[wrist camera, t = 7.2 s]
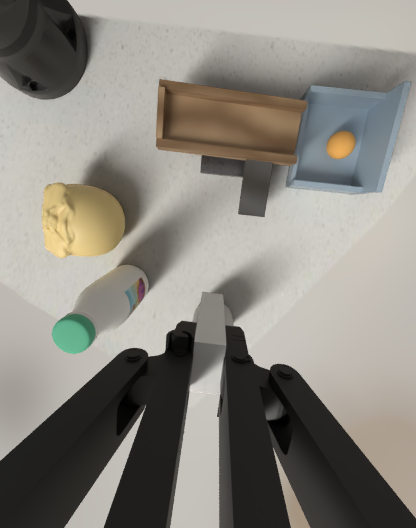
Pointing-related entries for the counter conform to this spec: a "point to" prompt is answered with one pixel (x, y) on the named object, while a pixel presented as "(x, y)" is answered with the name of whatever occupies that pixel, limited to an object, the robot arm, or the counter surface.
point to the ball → (341, 144)
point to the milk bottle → (101, 308)
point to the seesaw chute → (231, 131)
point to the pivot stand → (222, 166)
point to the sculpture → (81, 220)
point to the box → (360, 125)
